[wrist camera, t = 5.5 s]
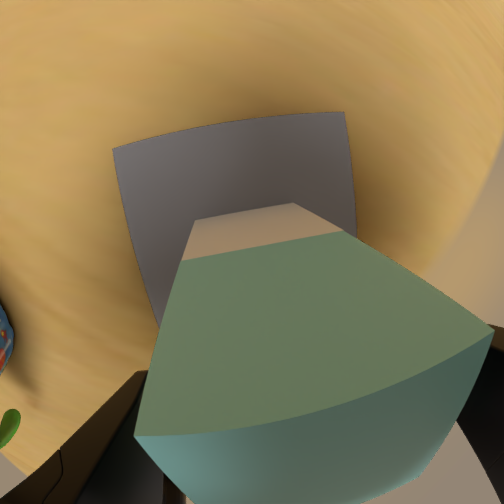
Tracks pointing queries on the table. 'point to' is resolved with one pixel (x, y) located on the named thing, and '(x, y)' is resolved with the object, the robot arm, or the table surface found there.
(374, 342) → the teal block
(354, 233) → the mat
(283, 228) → the white block
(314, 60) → the table surface
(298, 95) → the table surface
